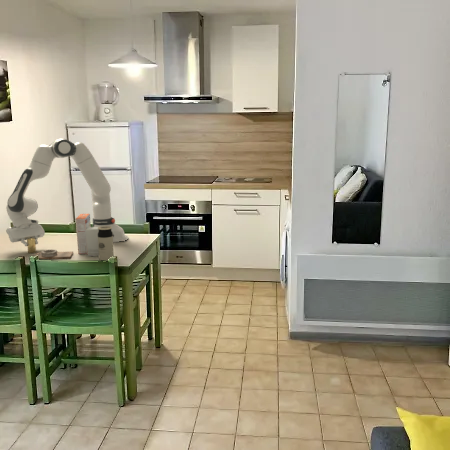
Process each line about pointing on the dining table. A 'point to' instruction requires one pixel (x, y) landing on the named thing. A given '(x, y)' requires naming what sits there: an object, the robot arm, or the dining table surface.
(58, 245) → the dining table surface
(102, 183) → the robot arm
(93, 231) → the skincare box
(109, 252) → the travel mug
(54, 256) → the coupling base
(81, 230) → the cracker box
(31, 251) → the cylinder
